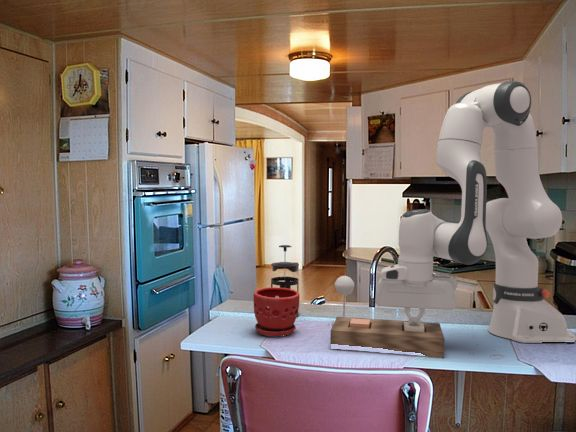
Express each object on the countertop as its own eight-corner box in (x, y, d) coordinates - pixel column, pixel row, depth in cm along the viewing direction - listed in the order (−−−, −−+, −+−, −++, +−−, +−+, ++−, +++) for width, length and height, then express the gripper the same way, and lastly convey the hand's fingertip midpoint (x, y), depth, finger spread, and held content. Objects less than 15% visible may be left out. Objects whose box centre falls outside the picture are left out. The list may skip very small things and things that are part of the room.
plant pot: (245, 336, 138) (246, 294, 138) (264, 324, 151) (264, 285, 150) (289, 342, 134) (290, 298, 133) (305, 329, 146) (305, 288, 145)
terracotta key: (369, 332, 135) (370, 319, 135) (368, 337, 130) (369, 324, 130) (351, 330, 136) (351, 318, 136) (349, 336, 131) (349, 323, 131)
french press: (296, 320, 156) (297, 247, 154) (267, 319, 157) (267, 246, 156) (301, 311, 167) (302, 243, 166) (274, 310, 169) (274, 242, 167)
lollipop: (340, 328, 147) (341, 278, 146) (330, 323, 152) (330, 275, 151) (357, 326, 150) (358, 276, 149) (346, 321, 155) (347, 273, 154)
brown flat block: (439, 341, 136) (439, 323, 135) (443, 358, 122) (444, 338, 122) (336, 333, 141) (336, 316, 141) (330, 349, 128) (330, 330, 128)
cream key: (423, 336, 132) (423, 323, 132) (424, 341, 127) (424, 328, 127) (403, 334, 133) (404, 321, 133) (404, 340, 128) (404, 326, 128)
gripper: (455, 271, 130) (454, 323, 131) (376, 268, 134) (375, 318, 135) (458, 275, 124) (457, 330, 125) (375, 272, 128) (374, 325, 129)
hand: (414, 324), depth 130 cm, fingers closed
